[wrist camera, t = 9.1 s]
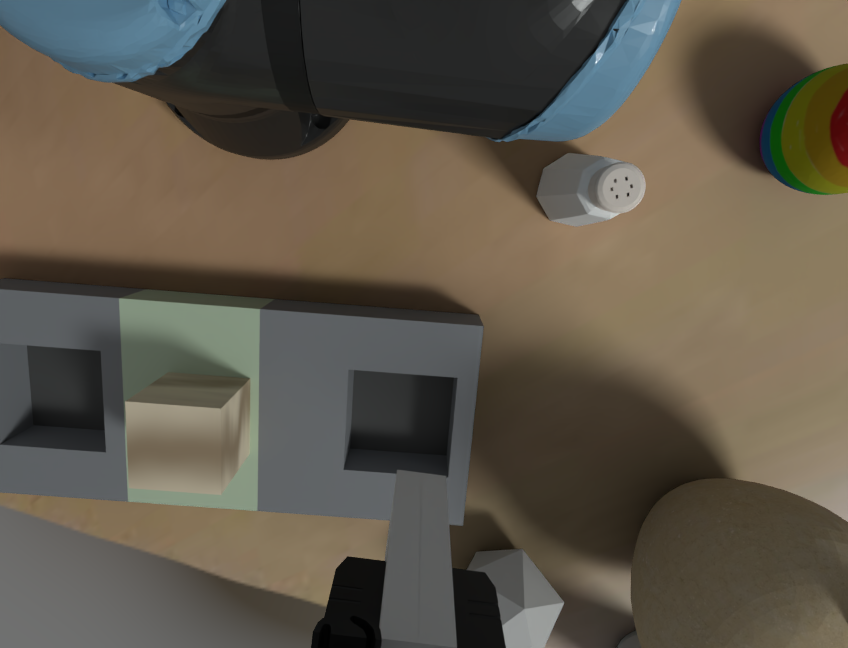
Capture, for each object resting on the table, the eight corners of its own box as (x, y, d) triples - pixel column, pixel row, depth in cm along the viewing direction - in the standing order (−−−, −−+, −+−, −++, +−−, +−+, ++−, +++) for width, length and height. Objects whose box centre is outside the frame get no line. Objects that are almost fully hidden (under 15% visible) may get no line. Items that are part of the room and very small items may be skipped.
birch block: (168, 372, 41) (124, 401, 35) (250, 378, 41) (220, 408, 35) (170, 447, 42) (128, 488, 36) (249, 453, 42) (221, 494, 36)
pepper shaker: (540, 232, 42) (578, 244, 32) (530, 159, 41) (567, 146, 30) (611, 220, 42) (674, 228, 31) (604, 146, 41) (667, 128, 30)
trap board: (4, 278, 43) (-38, 286, 39) (478, 314, 44) (483, 326, 40) (21, 466, 47) (-16, 491, 43) (459, 498, 47) (463, 525, 43)
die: (432, 591, 50) (483, 707, 44) (434, 546, 44) (492, 672, 38) (511, 556, 53) (570, 661, 46) (523, 508, 47) (592, 620, 40)
